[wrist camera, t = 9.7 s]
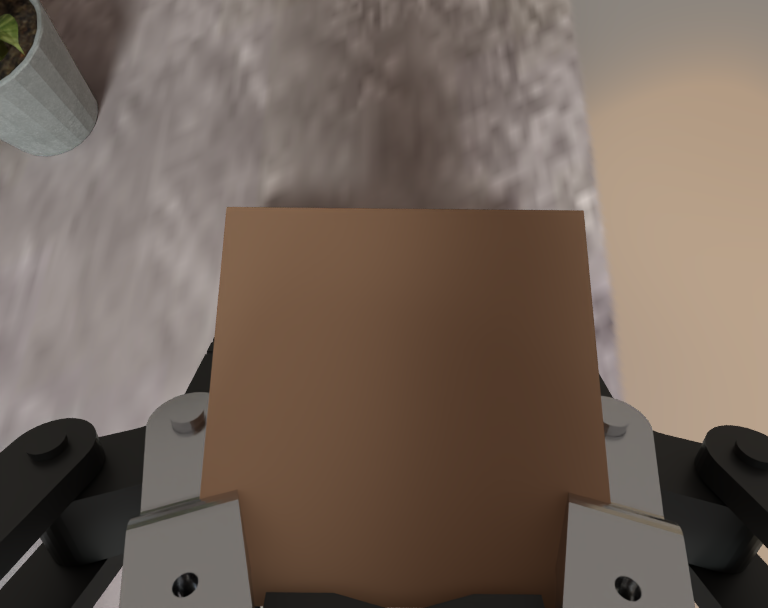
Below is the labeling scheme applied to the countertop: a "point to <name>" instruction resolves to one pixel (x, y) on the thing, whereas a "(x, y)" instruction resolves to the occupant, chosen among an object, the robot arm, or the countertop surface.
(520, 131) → the countertop surface
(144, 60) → the countertop surface
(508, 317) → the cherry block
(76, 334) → the countertop surface
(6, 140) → the house plant
